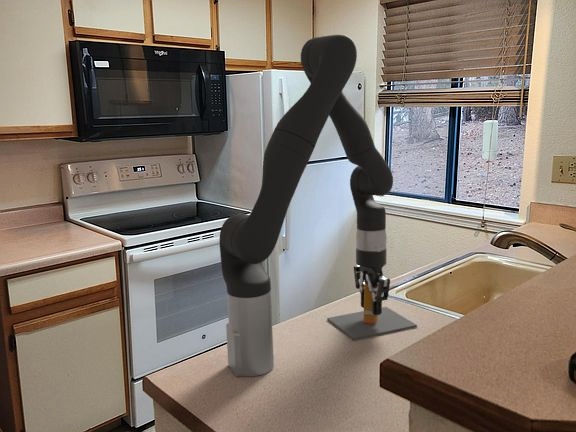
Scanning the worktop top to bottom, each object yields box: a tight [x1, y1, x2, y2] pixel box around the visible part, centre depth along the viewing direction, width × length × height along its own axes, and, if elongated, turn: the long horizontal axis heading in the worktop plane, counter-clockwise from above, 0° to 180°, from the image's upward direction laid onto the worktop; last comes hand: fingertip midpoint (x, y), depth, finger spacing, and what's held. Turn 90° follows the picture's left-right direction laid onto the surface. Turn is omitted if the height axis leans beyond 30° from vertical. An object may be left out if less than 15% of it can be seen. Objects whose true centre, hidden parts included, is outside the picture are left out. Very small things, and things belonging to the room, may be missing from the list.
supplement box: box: [363, 284, 378, 324], centre depth 134 cm, size 3×3×10 cm
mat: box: [327, 306, 418, 341], centre depth 135 cm, size 18×14×1 cm
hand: (371, 310), depth 135 cm, fingers open, 5 cm apart
